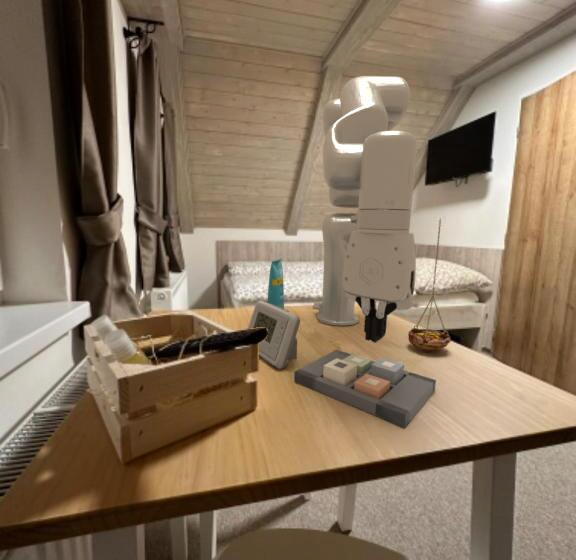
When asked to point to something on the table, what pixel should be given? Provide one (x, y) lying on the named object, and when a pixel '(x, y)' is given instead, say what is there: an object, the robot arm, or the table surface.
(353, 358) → the key sage
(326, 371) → the key ivory
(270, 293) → the tube
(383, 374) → the key slate
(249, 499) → the table surface
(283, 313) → the digital clock
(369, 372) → the keypad frame
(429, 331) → the bird feeder
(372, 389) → the key terracotta
